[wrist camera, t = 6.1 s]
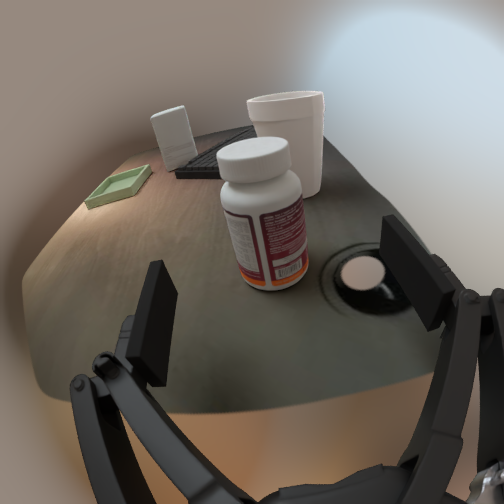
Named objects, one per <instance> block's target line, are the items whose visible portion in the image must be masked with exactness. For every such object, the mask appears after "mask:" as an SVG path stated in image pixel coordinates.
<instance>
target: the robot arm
mask: <svg viewBox="0 0 504 504" xmlns="http://www.w3.org/2000/svg"><path fill="white" fill-rule="evenodd" d="M379 254H380V255H381V257H382V258H383V260H384V261H385V263H386V264H387V266H388V267H389V269H390V270H391V272H392V273H393V275H394V276H395V278H396V279H397V281H398V283H399V284H400V286H401V287H402V289H403V291H404V292H405V294H406V295H407V297H408V299H409V300H410V302H411V304H412V305H413V307H414V309H415V310H416V312H417V314H418V315H419V317H420V319H421V321H422V322H423V324H424V326H425V328H426V329H427V331H428V332H429V331H432V330H434V329H437V328H439V327H440V325H441V323H442V321H444V322H445V324H446V326H445V328H444V330H443V332H442V334H441V336H440V338H442V337H443V338H442V342H441V347H440V351H439V356H438V360H437V364H436V368H435V371H434V375H433V379H432V382H431V385H430V389H429V392H428V395H427V398H426V401H425V404H424V407H423V410H422V413H421V416H420V418H419V421H418V424H417V427H416V429H415V431H414V434H413V437H412V439H411V441H410V443H409V445H408V447H407V449H406V450H405V452H404V453H403V455H402V456H401V458H400V460H399V462H398V464H397V466H383V465H382V464H379V465H376V466H373V467H370V468H367V469H364V470H360V471H357V472H356V473H354V474H352V475H350V476H348V477H346V478H345V479H343V480H341V481H339V482H337V483H335V484H324V485H323V484H318V485H317V484H303V485H297V486H290V487H284V488H279V491H276V492H273V493H271V494H269V495H268V496H266V497H264V498H263V499H262V500H260V501H259V502H257V501H255V500H254V499H253V498H252V497H250V496H249V495H248V494H247V493H246V492H244V491H243V490H242V489H240V488H238V487H237V486H236V485H235V484H233V483H232V482H231V481H230V480H229V479H228V478H226V476H225V475H223V474H222V473H221V472H220V471H219V470H218V469H217V468H216V467H215V466H214V465H213V464H212V463H211V462H210V461H209V460H208V459H207V458H206V457H205V456H204V455H203V454H202V453H201V452H200V451H199V450H198V449H197V448H196V447H195V446H194V445H193V443H192V442H191V441H190V440H189V439H188V438H187V437H186V436H185V435H184V433H182V431H181V430H180V429H179V428H178V427H177V426H176V424H175V423H174V422H173V421H172V420H171V419H170V417H169V416H168V415H167V414H166V412H165V411H164V410H163V409H162V407H161V406H160V405H159V404H158V402H157V401H156V400H155V398H154V397H153V396H152V395H151V393H150V392H149V391H148V390H147V389H146V387H147V382H148V383H149V384H150V385H151V386H152V387H165V386H166V382H167V372H168V363H169V355H170V346H171V338H172V331H173V323H174V316H175V309H176V303H177V296H178V292H177V290H176V288H175V286H174V284H173V282H172V280H171V278H170V275H169V273H168V271H167V269H166V267H165V265H164V262H163V260H158V261H153V262H150V265H149V268H148V272H147V275H146V278H145V282H144V285H143V288H142V292H141V295H140V299H139V302H138V306H137V310H136V313H135V315H129V316H127V318H126V319H125V320H124V322H123V323H122V327H121V331H120V332H121V333H120V334H119V339H118V342H117V345H116V349H115V353H114V354H113V353H111V352H108V351H107V352H102V353H101V354H99V355H98V356H97V357H96V358H95V359H94V361H93V364H92V370H93V372H94V373H95V374H96V375H97V376H96V377H93V378H89V377H87V376H86V375H85V374H80V375H77V376H76V377H74V378H73V380H72V381H71V384H70V395H71V402H72V408H73V414H74V420H75V425H76V430H77V435H78V439H79V444H80V448H81V452H82V456H83V459H84V463H85V467H86V470H87V473H88V477H89V480H90V483H91V486H92V489H93V492H94V495H95V498H96V500H97V503H98V504H156V502H155V500H154V498H153V495H152V493H151V491H150V489H149V487H148V485H147V483H146V480H145V478H144V476H143V474H142V472H141V469H140V467H139V464H138V462H137V459H136V457H135V454H134V452H133V449H132V446H131V444H130V441H129V438H128V435H127V432H126V430H125V426H124V424H123V420H122V417H121V414H120V411H121V413H122V414H123V416H124V418H125V419H126V421H127V422H128V424H129V425H130V427H131V428H132V430H133V431H134V433H135V434H136V436H137V437H138V439H139V440H140V442H141V443H142V444H143V446H144V447H145V448H146V450H147V451H148V453H149V454H150V455H151V457H152V458H153V459H154V460H155V462H156V463H157V464H158V465H159V466H160V468H161V469H162V471H163V472H164V473H165V474H166V476H167V477H168V478H169V479H170V480H171V481H172V483H173V484H174V485H175V486H176V487H177V488H178V489H179V491H180V492H181V493H182V494H183V495H184V496H185V497H186V498H187V500H188V503H189V504H504V289H501V288H496V289H494V290H493V292H492V294H491V296H480V295H479V294H478V293H477V292H475V291H474V290H471V289H466V288H465V287H464V286H463V284H462V283H461V282H460V280H459V279H458V278H457V277H456V276H455V274H454V273H453V272H452V271H451V269H450V268H449V267H448V266H447V264H446V263H445V262H444V261H443V260H442V259H441V258H440V257H439V256H437V255H436V254H432V255H429V254H428V253H427V252H426V251H425V249H424V248H423V247H422V246H421V245H420V244H419V242H418V241H417V240H416V239H415V238H414V237H413V236H412V234H411V233H410V232H409V231H408V230H407V229H406V228H405V227H404V225H403V224H402V223H401V222H400V221H399V220H398V219H397V218H396V217H395V216H394V215H388V216H383V218H382V230H381V241H380V250H379ZM477 357H478V365H479V381H480V427H479V442H478V453H477V475H476V476H475V478H474V479H473V481H472V482H471V484H470V486H469V489H470V491H471V493H470V495H469V498H468V499H467V500H466V502H465V501H463V500H461V499H459V498H457V497H455V496H453V495H451V494H449V493H447V492H445V491H446V488H447V486H448V484H449V481H450V479H451V477H452V474H453V471H454V469H455V466H456V464H457V461H458V458H459V455H460V453H461V450H462V446H463V439H462V438H461V432H462V429H463V425H464V422H465V418H466V414H467V410H468V406H469V402H470V397H471V392H472V388H473V382H474V376H475V371H476V364H477ZM119 410H120V411H119Z"/></svg>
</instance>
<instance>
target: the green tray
mask: <svg viewBox="0 0 504 504" xmlns="http://www.w3.org/2000/svg"><path fill="white" fill-rule="evenodd" d="M151 173H152V170H151V167H150V164H148V165H145V166H142V167H138V168H135V169H132V170H128V171H125V172H122V173H119V174H116V175H113V176H110V177H108V178H107V179H106V180H104V181H103V182H102V183H101V184H100V186H98V187H97V188H96V190H94V191H93V192H92V194H91V195H90V196H89V197H88V198H87V199H86V200H85V201H84V202H85V204H86V206H87V208H88V209H90V208H94V207H97V206H100V205H103V204H107V203H110V202H113V201H117V200H120V199H124V198H127V197H131V196H134V195H135V194H136V192H137V191H138V190H139V188H140V187H141V186H142V184H143V183H144V182H145V181H146V179H147V178H148V177H149V175H150V174H151Z"/></svg>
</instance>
